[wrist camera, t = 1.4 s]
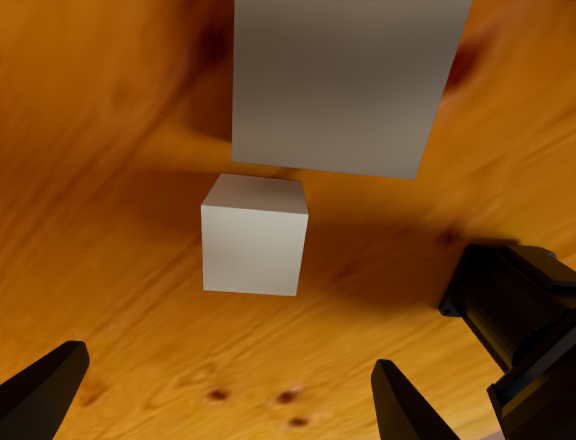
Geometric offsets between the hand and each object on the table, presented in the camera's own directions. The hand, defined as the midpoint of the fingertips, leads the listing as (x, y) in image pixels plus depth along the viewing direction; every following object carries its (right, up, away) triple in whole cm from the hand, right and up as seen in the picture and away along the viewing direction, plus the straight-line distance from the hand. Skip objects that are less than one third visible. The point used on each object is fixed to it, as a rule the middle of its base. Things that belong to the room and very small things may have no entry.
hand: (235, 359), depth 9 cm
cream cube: (0, +5, +10) cm, 11 cm away
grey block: (+4, +13, +6) cm, 15 cm away
